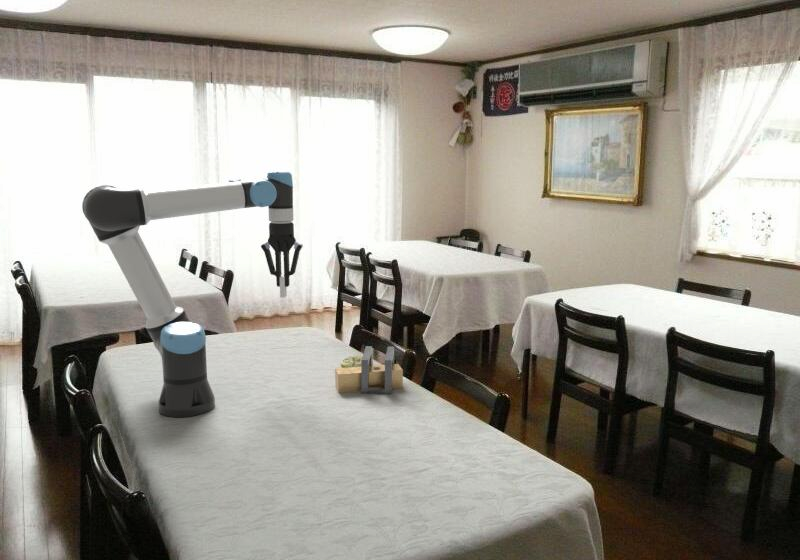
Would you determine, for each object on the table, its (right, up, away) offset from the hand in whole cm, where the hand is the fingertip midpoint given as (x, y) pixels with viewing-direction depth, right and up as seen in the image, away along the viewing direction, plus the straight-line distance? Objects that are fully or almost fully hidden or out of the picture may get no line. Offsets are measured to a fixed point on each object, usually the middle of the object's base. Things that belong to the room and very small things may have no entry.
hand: (283, 296), depth 206 cm
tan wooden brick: (+27, -28, -4) cm, 39 cm away
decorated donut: (+22, -25, +13) cm, 36 cm away
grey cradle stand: (+30, -27, -3) cm, 41 cm away
